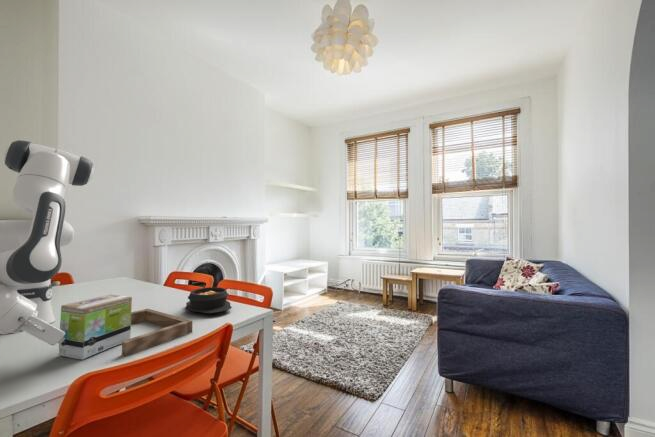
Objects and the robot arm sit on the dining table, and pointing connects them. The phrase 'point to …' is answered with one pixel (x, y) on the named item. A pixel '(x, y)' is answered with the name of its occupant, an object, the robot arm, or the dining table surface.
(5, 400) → the dining table surface
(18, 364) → the dining table surface
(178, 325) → the dock
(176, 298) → the dining table surface
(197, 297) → the casserole
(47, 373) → the dining table surface
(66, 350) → the tea box
